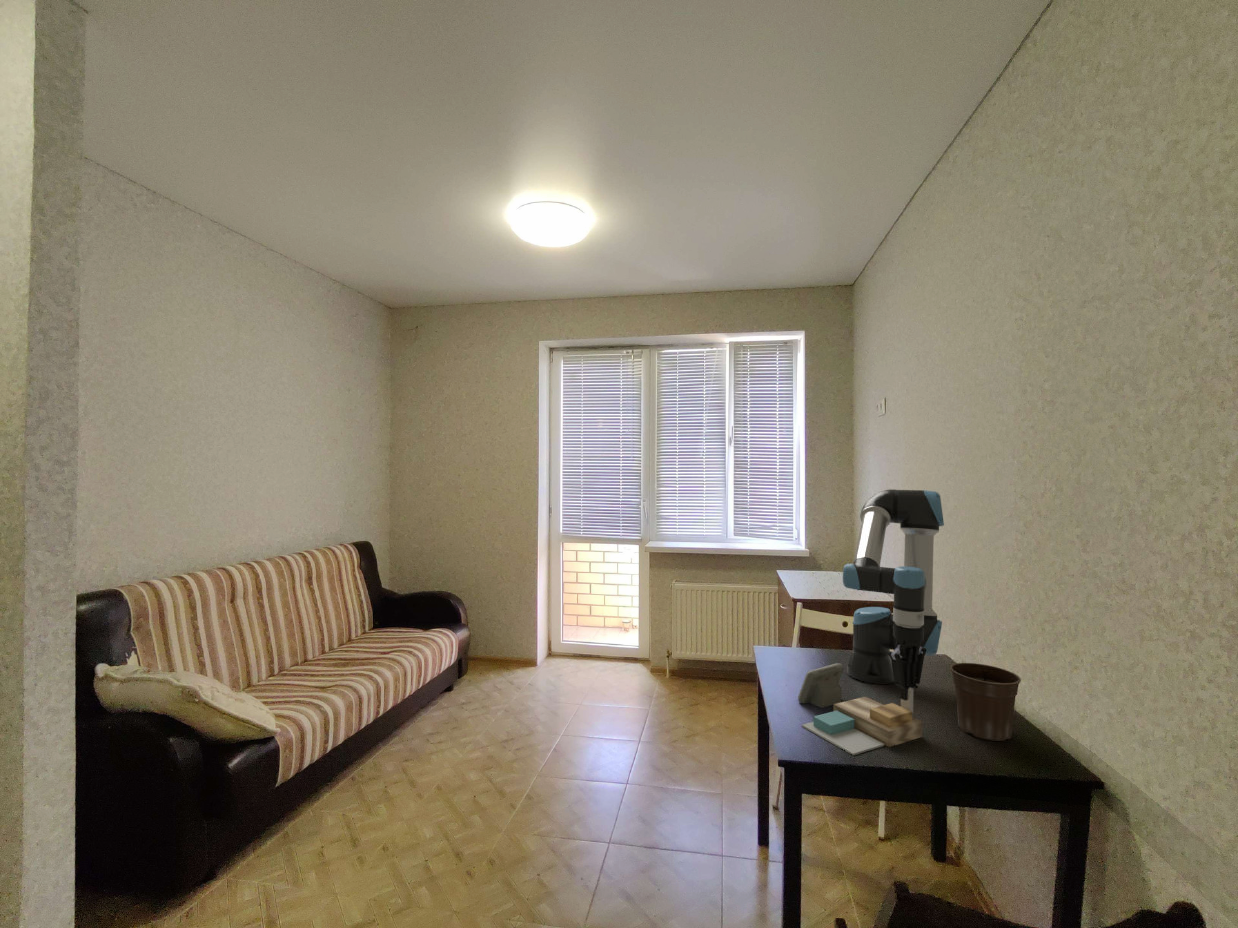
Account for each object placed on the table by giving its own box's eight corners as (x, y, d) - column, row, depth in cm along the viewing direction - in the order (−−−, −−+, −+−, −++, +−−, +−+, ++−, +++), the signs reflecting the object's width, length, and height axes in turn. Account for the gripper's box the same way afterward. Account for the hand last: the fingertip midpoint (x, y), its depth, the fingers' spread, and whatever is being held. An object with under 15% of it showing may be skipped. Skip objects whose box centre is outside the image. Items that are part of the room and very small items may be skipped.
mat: (831, 718, 159) (831, 716, 159) (884, 745, 144) (884, 743, 144) (801, 726, 154) (801, 724, 154) (853, 755, 139) (853, 753, 139)
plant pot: (939, 715, 163) (940, 659, 163) (1001, 720, 160) (1002, 664, 160) (964, 742, 147) (965, 680, 147) (1032, 748, 144) (1033, 685, 144)
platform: (864, 710, 165) (864, 696, 165) (921, 736, 149) (922, 721, 149) (833, 718, 159) (833, 704, 159) (889, 747, 143) (889, 731, 143)
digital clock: (832, 691, 179) (832, 658, 179) (853, 703, 170) (853, 668, 170) (790, 698, 173) (790, 664, 173) (810, 710, 164) (810, 674, 164)
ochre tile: (892, 711, 155) (892, 702, 155) (912, 720, 150) (912, 711, 150) (869, 717, 151) (869, 708, 151) (889, 727, 146) (889, 717, 146)
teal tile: (836, 719, 158) (836, 710, 158) (854, 728, 152) (854, 719, 152) (813, 725, 154) (813, 716, 154) (830, 734, 148) (830, 725, 148)
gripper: (905, 630, 147) (903, 720, 147) (936, 625, 153) (934, 711, 153) (880, 623, 154) (878, 709, 153) (911, 618, 160) (909, 701, 159)
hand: (906, 710), depth 153 cm, fingers closed
